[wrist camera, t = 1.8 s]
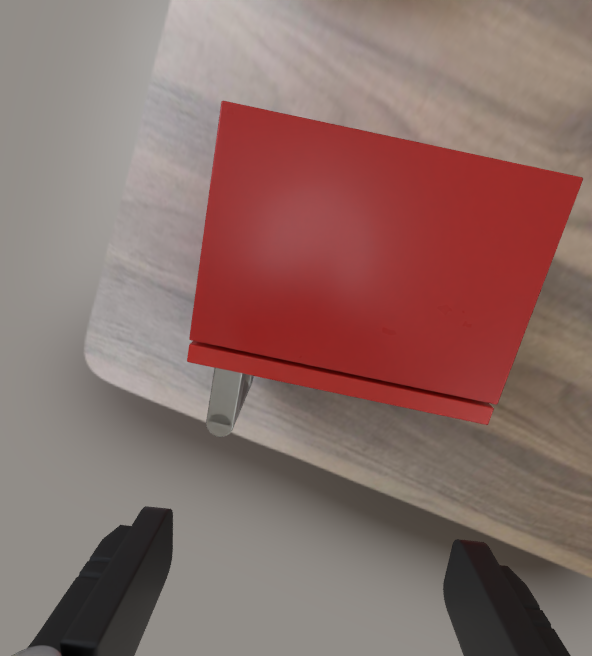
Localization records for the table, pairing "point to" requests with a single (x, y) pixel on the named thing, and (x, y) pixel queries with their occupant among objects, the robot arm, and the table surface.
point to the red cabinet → (373, 252)
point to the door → (241, 367)
